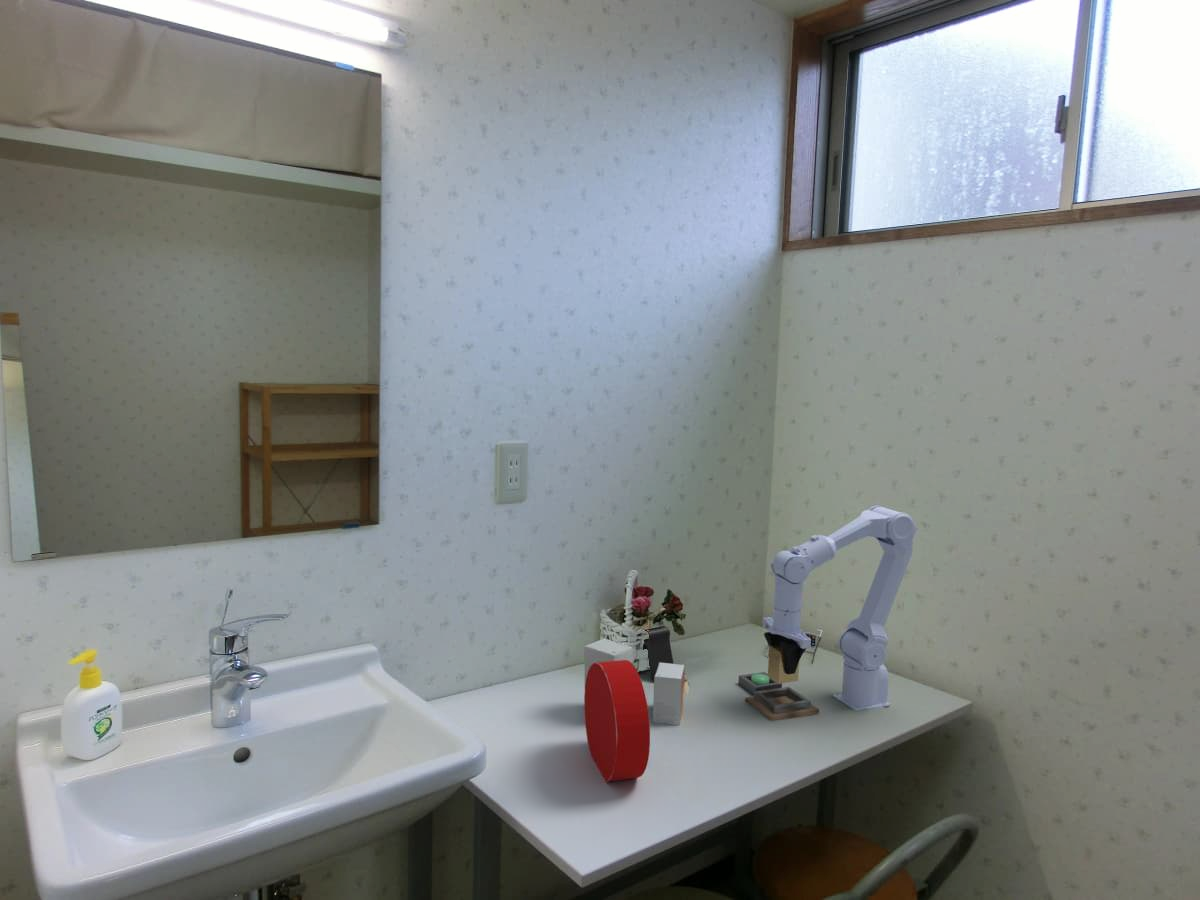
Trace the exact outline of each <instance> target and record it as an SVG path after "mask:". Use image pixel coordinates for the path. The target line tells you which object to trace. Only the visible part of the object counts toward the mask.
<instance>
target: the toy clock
mask: <svg viewBox="0 0 1200 900" xmlns="http://www.w3.org/2000/svg"><path fill="white" fill-rule="evenodd" d="M646 696H647V695H646V693H645V689H644V686H643V681H642V680H641V675H640V674H639V672H637V670H636V668H635V664H634V663H633V664H632V663H631V662H630V661H628V660H619V661H607V662H595V663H593V664H592V665H591V666H590V668H589V670H588V673H587V677H586V683H585V682H584V695H583V697H584V698H583V699H584V700H583V701H584V702H583V703H584V705H583V708H584V724H585V732H586V739H587V746H588V750H589V754H590V756H591V759H592V760H593V761H594V763H595V766H596V767H597V769H598V770H599V772H600V773H599V774H601V776H602V778H603V780H604V782H605V783H609V782H615V781H623V780H629V779H630V780H631V779H638V778H640V777H642V776H643V774H644V773H645V771H646V769H647V766H648V762H649V756H650V747H651V729H650V728H651V727H650V725H651V724H650V716H649V715H650V714H649V707H648V702H647V697H646Z"/></svg>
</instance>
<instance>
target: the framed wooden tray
mask: <svg viewBox="0 0 1200 900" xmlns="http://www.w3.org/2000/svg"><path fill="white" fill-rule="evenodd" d="M744 701H745V702H747V704H748V705H750V706H751V707H753V708H754V709H755V710H756V711H758V712H759V713H760V714H762V715H763V716H764V717H766V718H767V719H768V720H770V721H771V722H772V721H773V722H775V721H780V720H781V721H782V720H788V719H795V718H796V719H797V718H802V717H803V718H804V717H809V716H815V715H819V714H820V708H818V707H817V706H815V705H813V704H812V701H811V700H809V699H808V698H806V697H805V696H803V695H802V694H801V693H799V692H797V691H796V690H794V689H793V688H791V687H790V686H785V687H782V688H777V689H771V690H764V691H757V692H754V695H753V696H752V695H751V696H748V697H745V700H744Z"/></svg>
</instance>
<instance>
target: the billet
mask: <svg viewBox="0 0 1200 900" xmlns="http://www.w3.org/2000/svg"><path fill="white" fill-rule="evenodd" d="M768 654H769V656H768V665H767V674H768V677H769V678H771V679H772V680H774V681H775V682H777V683H778V684H780V683H782V684H786V683H792V682H798V681H799V673H800V672H799V671H800V670H799V669H800V662H799V663H798V666H797V669H796V672H795V674H786V673H785V664H784V653H783V649H782V646H781V644H776V645H768Z"/></svg>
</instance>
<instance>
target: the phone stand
mask: <svg viewBox="0 0 1200 900" xmlns="http://www.w3.org/2000/svg"><path fill="white" fill-rule="evenodd" d="M644 630H645V631H647V630H649V631H647V632H648V634H649V639H645V640H644V644H643V650H644V649H647V650H648V658H649V666H650V670H649V674H650V681H651V682H653V683H654V676H655V674H656V672H657V669H658V665H659V663H669V664H675V663H674V658H673V654H672V653H673V652H672V648H671V647H672V646H671V640H670V638H671V630H670V628H669V626H666V625H661V626H657V627H651V628H647V629H644Z"/></svg>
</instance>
